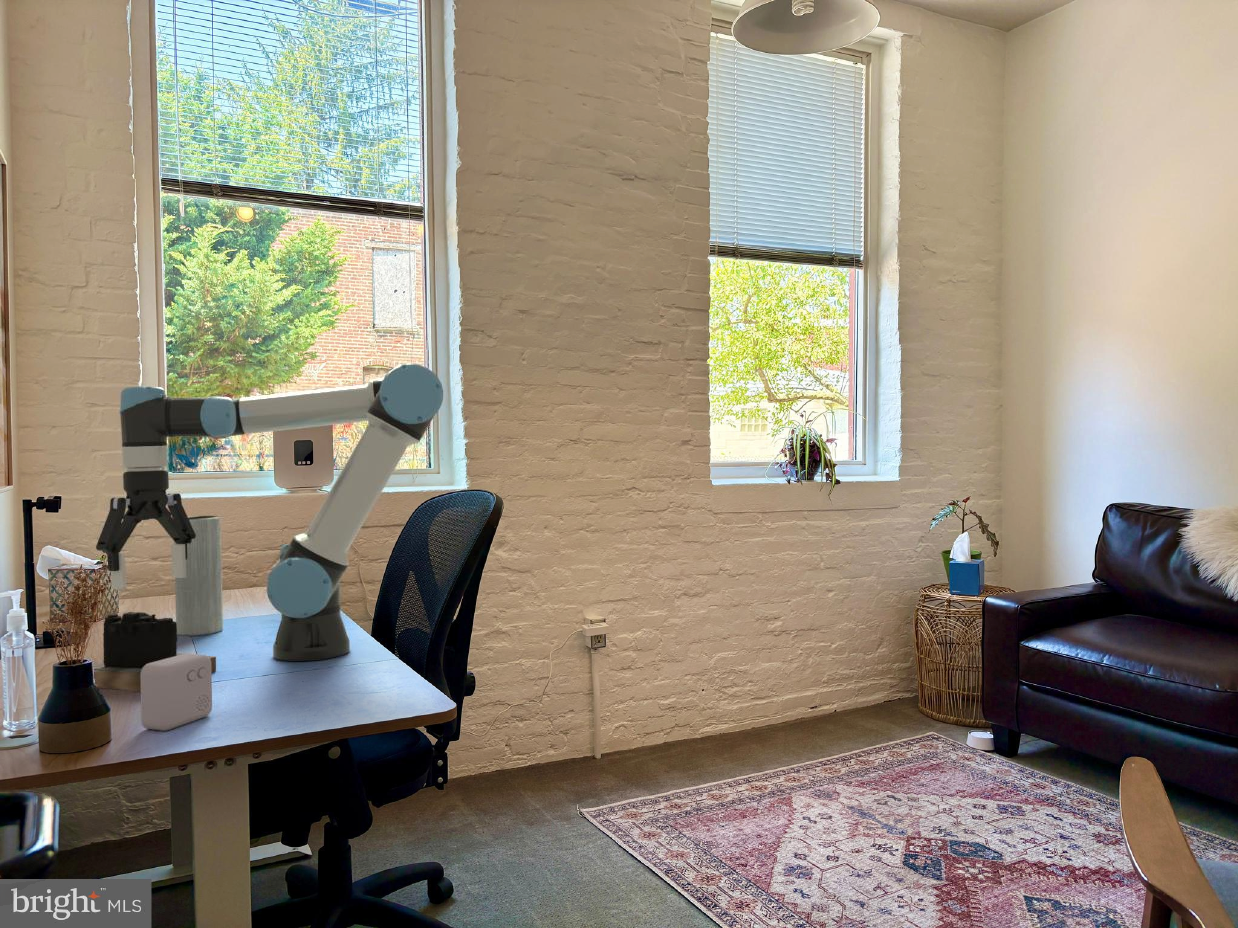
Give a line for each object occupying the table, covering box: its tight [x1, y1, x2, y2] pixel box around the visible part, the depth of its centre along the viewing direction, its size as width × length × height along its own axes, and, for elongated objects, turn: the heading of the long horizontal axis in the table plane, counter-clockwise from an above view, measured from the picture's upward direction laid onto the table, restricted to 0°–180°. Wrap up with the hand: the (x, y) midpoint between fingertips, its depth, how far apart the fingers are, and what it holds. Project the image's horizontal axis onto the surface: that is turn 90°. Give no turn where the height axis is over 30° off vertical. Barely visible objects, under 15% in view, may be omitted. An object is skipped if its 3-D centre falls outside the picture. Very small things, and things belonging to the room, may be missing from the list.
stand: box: [93, 652, 217, 693], centre depth 169 cm, size 16×16×3 cm
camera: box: [102, 611, 178, 669], centre depth 169 cm, size 14×11×10 cm
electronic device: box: [140, 652, 213, 732], centre depth 141 cm, size 10×5×10 cm, turn 158°
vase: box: [173, 515, 224, 637], centre depth 212 cm, size 10×10×27 cm
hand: (150, 583), depth 169 cm, fingers open, 13 cm apart
